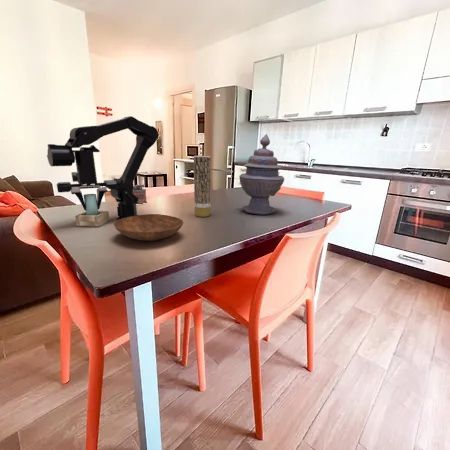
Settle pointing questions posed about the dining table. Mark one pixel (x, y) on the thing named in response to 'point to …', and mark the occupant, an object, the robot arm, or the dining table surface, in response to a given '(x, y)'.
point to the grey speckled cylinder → (202, 186)
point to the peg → (91, 204)
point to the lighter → (140, 194)
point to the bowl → (148, 226)
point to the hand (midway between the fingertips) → (92, 209)
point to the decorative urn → (261, 179)
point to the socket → (92, 219)
